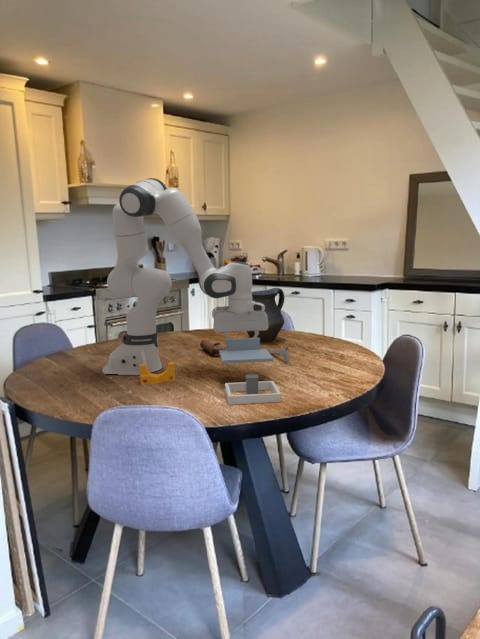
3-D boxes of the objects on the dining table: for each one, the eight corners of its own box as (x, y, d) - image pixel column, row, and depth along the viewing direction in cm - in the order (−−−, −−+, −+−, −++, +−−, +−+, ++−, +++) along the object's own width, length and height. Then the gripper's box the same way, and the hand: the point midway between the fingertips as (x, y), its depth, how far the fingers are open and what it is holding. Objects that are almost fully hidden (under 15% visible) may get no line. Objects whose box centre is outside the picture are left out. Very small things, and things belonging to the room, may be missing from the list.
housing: (228, 406, 155) (228, 396, 154) (225, 392, 168) (224, 383, 168) (281, 403, 156) (281, 393, 156) (273, 389, 170) (273, 380, 170)
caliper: (289, 363, 202) (289, 347, 201) (286, 363, 202) (286, 348, 201) (271, 351, 221) (271, 337, 220) (268, 351, 221) (268, 337, 220)
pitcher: (234, 339, 251) (233, 288, 247) (272, 334, 262) (271, 285, 257) (255, 346, 234) (254, 292, 229) (295, 341, 244) (295, 289, 239)
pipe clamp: (140, 385, 178) (139, 367, 177) (140, 382, 182) (139, 364, 181) (175, 382, 180) (175, 365, 179) (174, 379, 185) (173, 362, 183)
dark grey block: (247, 399, 161) (246, 378, 159) (245, 396, 164) (245, 375, 163) (258, 399, 161) (258, 377, 160) (256, 395, 164) (256, 374, 163)
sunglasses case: (231, 350, 219) (221, 339, 216) (219, 362, 218) (209, 351, 215) (217, 342, 235) (207, 332, 233) (206, 353, 234) (197, 343, 232)
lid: (222, 363, 169) (222, 348, 169) (219, 353, 184) (218, 339, 183) (273, 361, 171) (273, 346, 170) (266, 351, 186) (266, 337, 185)
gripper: (212, 308, 184) (213, 345, 186) (269, 306, 186) (269, 343, 188) (211, 305, 190) (212, 342, 192) (266, 303, 192) (266, 340, 194)
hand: (241, 342), depth 190 cm, fingers open, 8 cm apart
